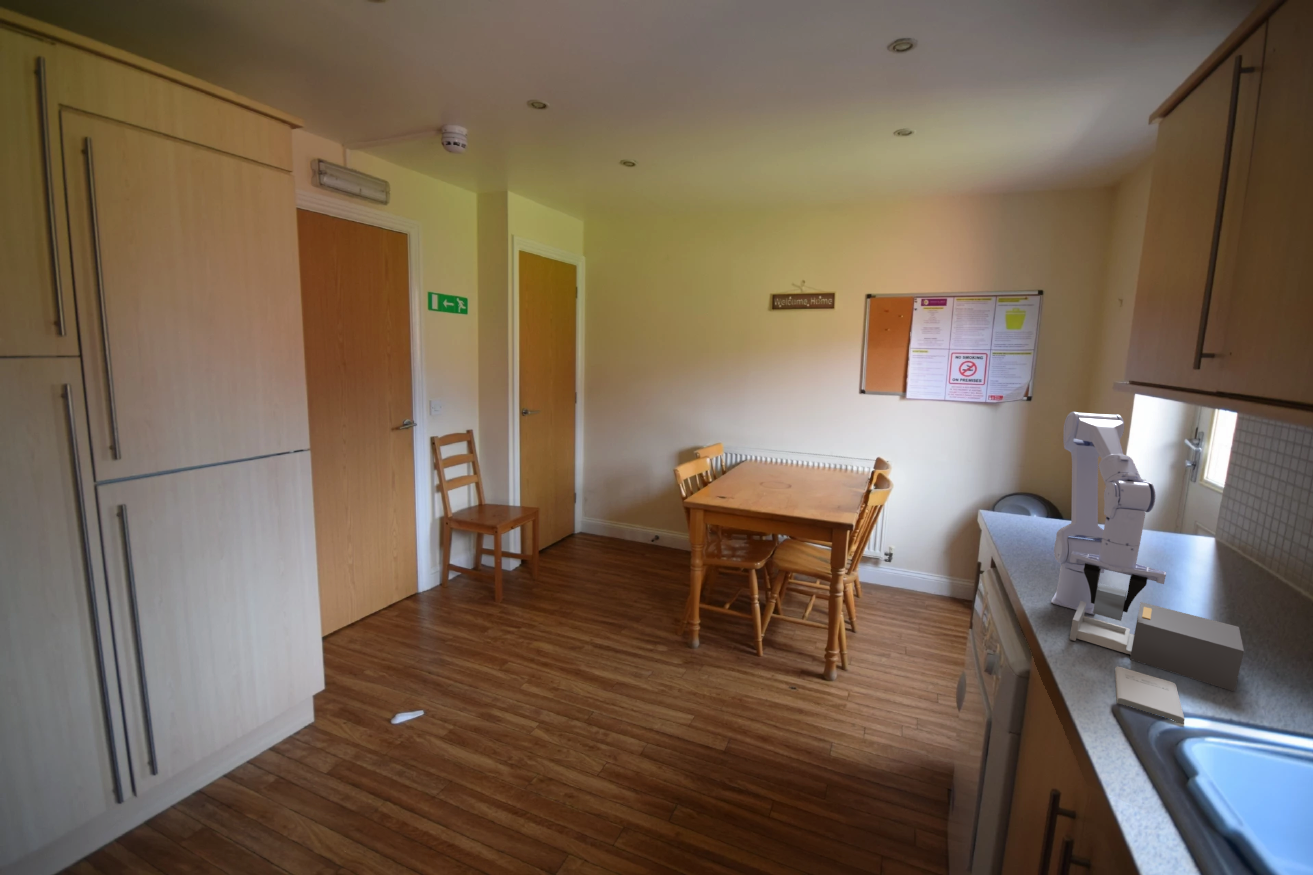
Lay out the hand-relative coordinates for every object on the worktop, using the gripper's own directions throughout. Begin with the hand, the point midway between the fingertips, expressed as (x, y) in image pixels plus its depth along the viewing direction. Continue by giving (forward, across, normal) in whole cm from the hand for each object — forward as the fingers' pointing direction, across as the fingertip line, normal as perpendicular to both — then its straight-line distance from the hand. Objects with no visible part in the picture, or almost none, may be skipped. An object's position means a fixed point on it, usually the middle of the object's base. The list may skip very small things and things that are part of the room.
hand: (1109, 606), depth 113 cm
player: (+7, +12, 0) cm, 14 cm away
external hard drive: (+8, +7, -19) cm, 22 cm away
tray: (+7, +2, 0) cm, 7 cm away
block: (+2, 0, 0) cm, 2 cm away
